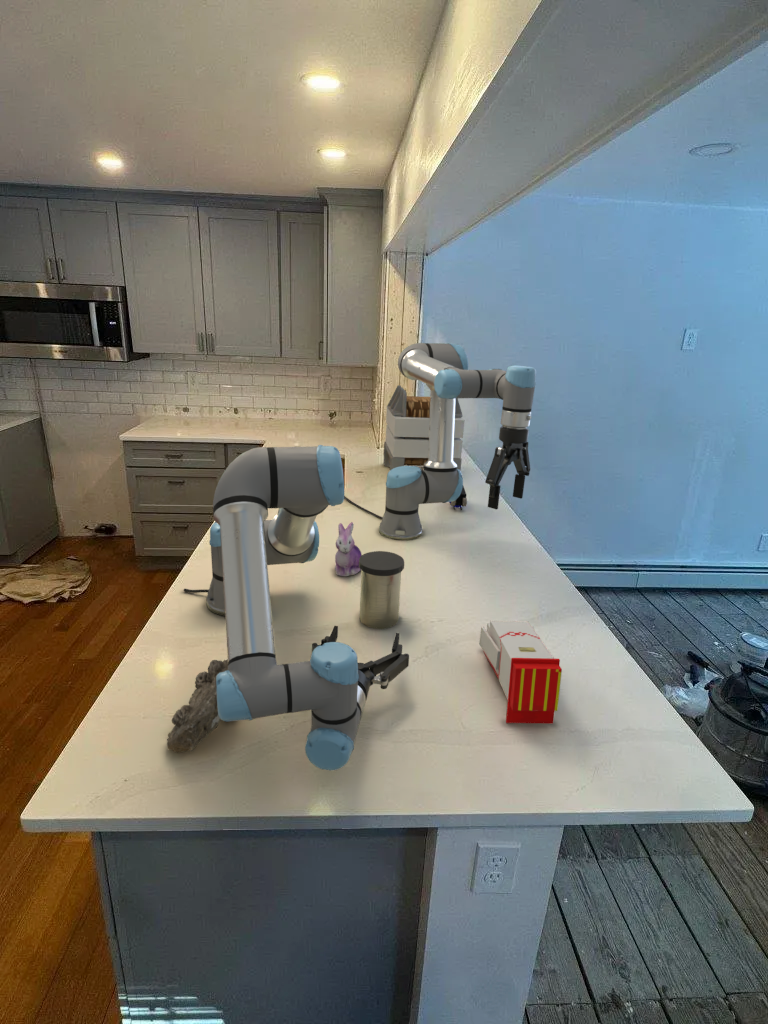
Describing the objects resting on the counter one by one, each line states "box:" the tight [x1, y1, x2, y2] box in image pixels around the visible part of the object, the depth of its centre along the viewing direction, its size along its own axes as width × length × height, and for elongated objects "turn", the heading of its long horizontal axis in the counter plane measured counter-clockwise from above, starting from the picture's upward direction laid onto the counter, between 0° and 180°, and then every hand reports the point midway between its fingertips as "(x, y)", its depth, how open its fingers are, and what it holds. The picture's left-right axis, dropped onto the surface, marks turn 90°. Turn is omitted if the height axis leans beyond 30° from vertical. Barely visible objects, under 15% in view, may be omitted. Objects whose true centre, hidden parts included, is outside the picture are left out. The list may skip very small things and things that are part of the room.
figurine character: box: [449, 485, 468, 511], centre depth 230 cm, size 7×8×15 cm
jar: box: [359, 570, 402, 630], centre depth 142 cm, size 10×10×16 cm
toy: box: [478, 620, 563, 725], centre depth 121 cm, size 12×13×30 cm
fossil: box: [166, 658, 228, 754], centre depth 106 cm, size 22×10×15 cm
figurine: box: [334, 521, 363, 577], centre depth 168 cm, size 9×10×15 cm
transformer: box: [383, 384, 465, 472], centre depth 268 cm, size 34×33×41 cm
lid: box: [359, 550, 405, 576], centre depth 140 cm, size 11×11×2 cm
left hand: (366, 634), depth 124 cm, fingers open, 13 cm apart
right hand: (505, 502), depth 157 cm, fingers open, 13 cm apart
